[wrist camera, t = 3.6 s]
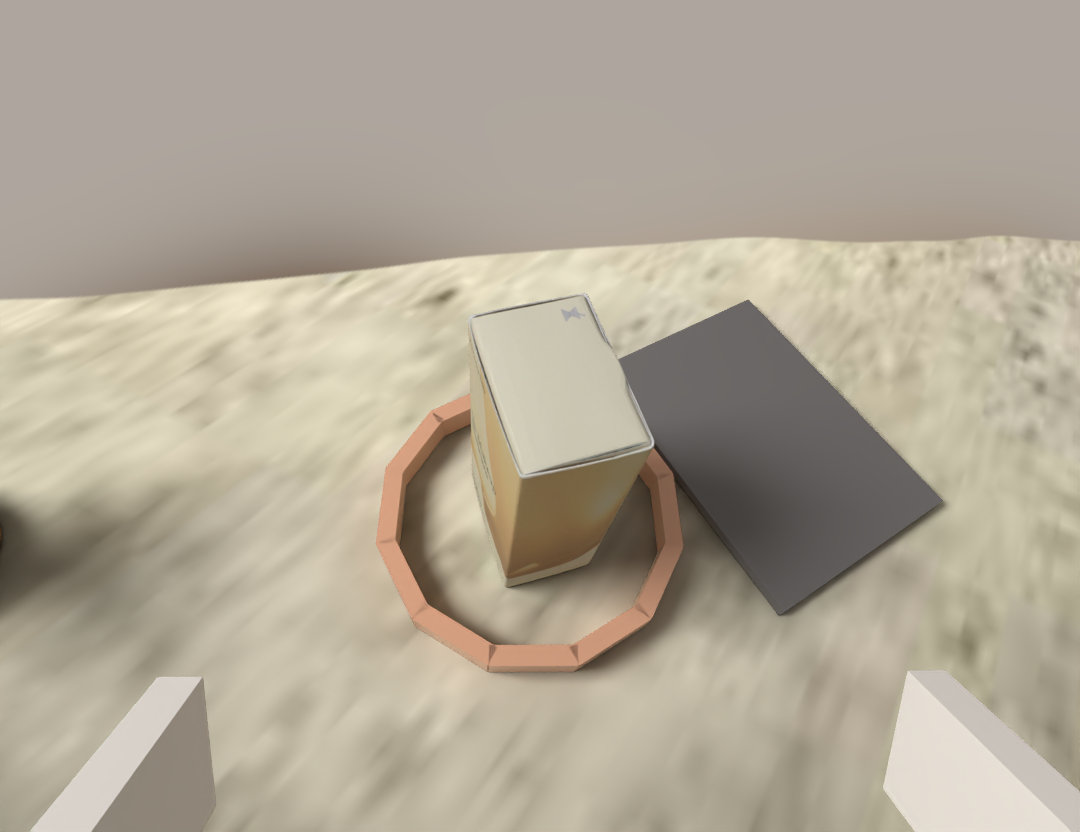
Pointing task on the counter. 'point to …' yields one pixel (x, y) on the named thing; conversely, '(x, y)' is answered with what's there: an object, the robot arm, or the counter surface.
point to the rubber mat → (771, 452)
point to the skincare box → (550, 434)
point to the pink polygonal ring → (518, 655)
